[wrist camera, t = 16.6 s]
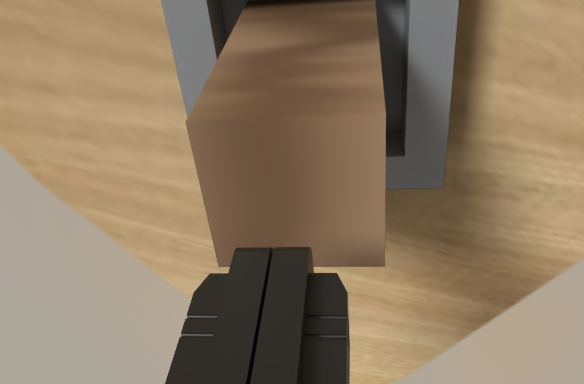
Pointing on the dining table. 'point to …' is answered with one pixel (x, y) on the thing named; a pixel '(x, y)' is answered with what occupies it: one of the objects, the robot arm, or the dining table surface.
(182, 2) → the gray pocket tray
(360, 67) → the walnut block
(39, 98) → the dining table surface
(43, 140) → the dining table surface
